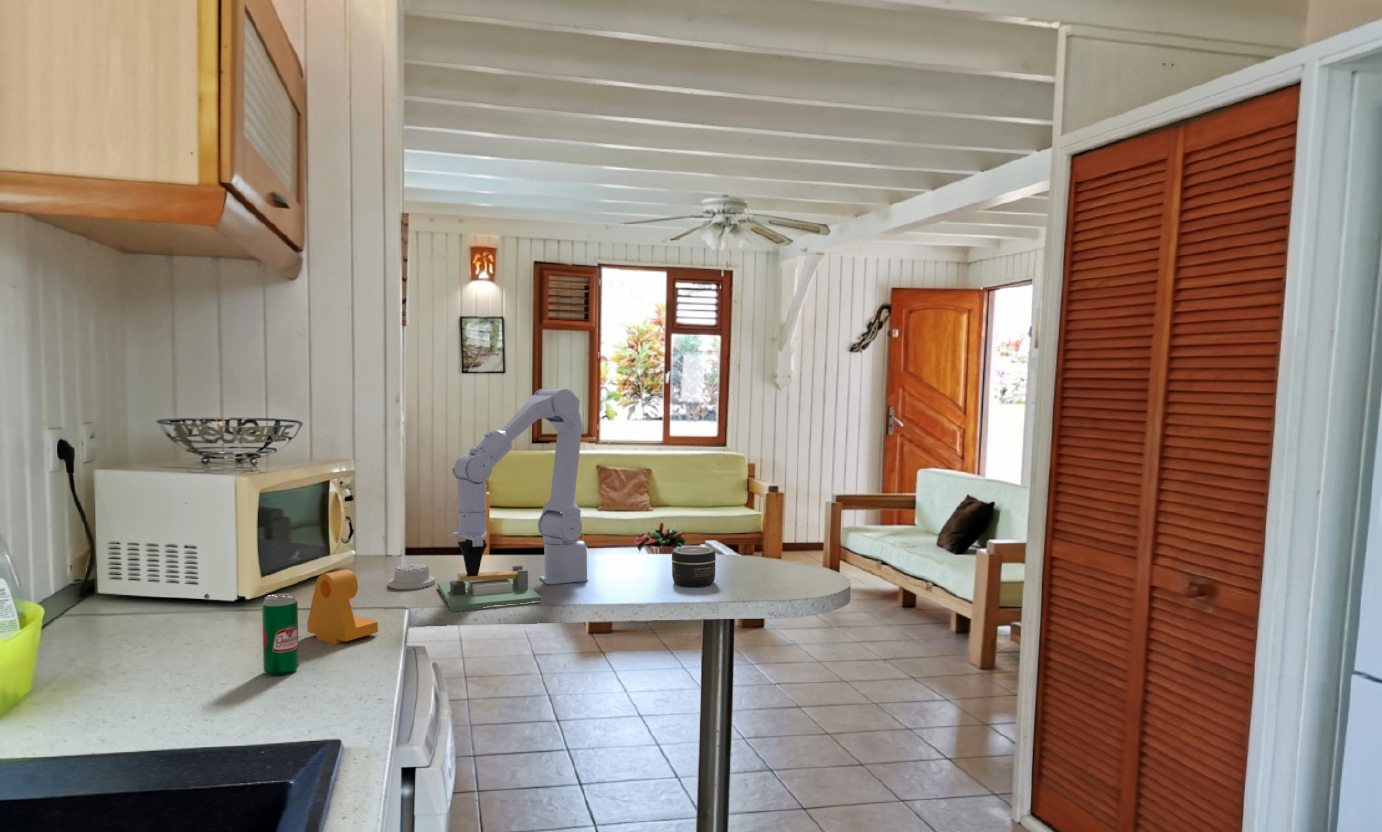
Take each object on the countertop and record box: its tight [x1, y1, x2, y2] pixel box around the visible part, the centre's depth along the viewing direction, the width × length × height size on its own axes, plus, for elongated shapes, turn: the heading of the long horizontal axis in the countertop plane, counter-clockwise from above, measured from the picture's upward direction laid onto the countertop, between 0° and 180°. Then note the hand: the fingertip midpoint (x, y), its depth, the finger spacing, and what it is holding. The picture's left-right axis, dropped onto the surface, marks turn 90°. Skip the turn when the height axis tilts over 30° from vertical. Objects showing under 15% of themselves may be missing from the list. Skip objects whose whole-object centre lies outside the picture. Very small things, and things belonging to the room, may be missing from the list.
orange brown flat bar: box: [457, 570, 518, 582], centre depth 191 cm, size 14×4×1 cm, turn 113°
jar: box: [671, 546, 717, 589], centre depth 202 cm, size 10×10×8 cm
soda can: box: [261, 592, 300, 677], centre depth 140 cm, size 5×5×12 cm
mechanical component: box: [388, 563, 436, 590], centre depth 201 cm, size 10×4×10 cm
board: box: [437, 564, 542, 613], centre depth 191 cm, size 18×22×5 cm
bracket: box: [306, 568, 379, 644], centre depth 160 cm, size 11×7×12 cm, turn 58°
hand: (472, 574), depth 189 cm, fingers closed, pressing on orange brown flat bar
